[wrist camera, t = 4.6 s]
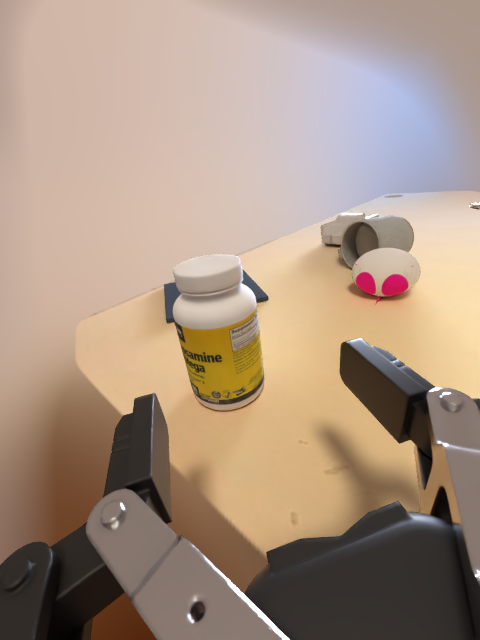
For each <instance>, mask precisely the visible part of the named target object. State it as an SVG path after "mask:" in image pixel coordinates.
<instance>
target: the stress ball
mask: <svg viewBox="0 0 480 640" xmlns="http://www.w3.org/2000/svg"><path fill="white" fill-rule="evenodd" d="M419 276H420V266H419V263H418V261H417V260H416V259H415V258H414V257H413V256H412V255H411V254H409V253H408V252H406V251H403V250H400V249H396V248H379V249H375V250H372V251H369V252H367V253H365V254H364V255H362V256H361V257H360V258H359V259H358V260H357V261H356V262H355V263H354V266H353V269H352V278H353V280H354V282H355V284H356V285H357V286H358V287H359V288H360V289H361V290H363V291H364V292H366V293H369V294H371V295H375V296H379V297H378V299H377V301H376V303H377V302H378V300H379V299H380V297H381V296H394V295H398V294H401V293H403V292H405V291H407V290H409V289H410V288H412V287H413V286H414V285H415V284H416V282H417V281H418V279H419Z"/></svg>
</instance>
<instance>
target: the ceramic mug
mask: <svg viewBox="0 0 480 640" xmlns="http://www.w3.org/2000/svg"><path fill="white" fill-rule="evenodd" d="M413 241H414V233H413V229H412V227H411V225H410V223H409V222H408V221H407V220H405V219H404V218H402V217H399V216H381V217H374V218H366V219H359V220H356V221H354V222H352V223H351V224H349V225H348V227H347V228H346V229H345V231H344V233H343V235H342V238H341V248H340V249H339V250H338V253H339V257H340V259H341V258H344V261H345V262H346V264H347V265H348V266H349V267H351V268H352V269H353V266H354V263H355V262H356V261H357V260H358V259H359V258H360V257H361V256H362V255H364V254H365V253H367V252H369V251H372V250H375V249H379V248H396V249H400V250H403V251H406V252H409V251H410V249H411V247H412V245H413Z"/></svg>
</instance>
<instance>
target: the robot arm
mask: <svg viewBox="0 0 480 640" xmlns="http://www.w3.org/2000/svg"><path fill="white" fill-rule="evenodd" d="M340 375H341V378H342V381H343V382H344V384H345V385H346V386H347V387H348V388H349V389H350V390H351V392H352V393H353V394H354V395H355V396H356V397H357V398H358V399H359V400H360V401H361V402H362V404H363V405H364V406H365V407H366V408H367V409H368V410H369V411H370V412H371V413H372V414H373V416H374V417H375V418H376V419H377V420H378V421H379V422H380V423H381V424H382V425H383V426H384V428H385V429H386V430H387V431H388V432H389V433H390V434H391V435H392V436H393V437H394V438H395V440H396V441H397V442H398V443H399V444H400V443H403V442H405V441H408V440H412V441H413V442H414V443H415V447H414V454H415V462H416V470H417V478H418V485H419V493H420V509H419V512H407V511H406V510H405V509H404V507H403V506H402V505H401V503H400V502H399V501H397V502H394V503H392V504H389V505H386V506H384V507H381V508H379V509H376V510H374V511H371V512H368V513H367V514H366V515H365V516H364V517H362V518H361V519H360V520H359V521H358V522H357V523H356V524H354V525H353V526H352V527H351V528H350V529H349V530H347V531H346V532H345V533H344V534H343V535H341V536H337V537H320V538H303V539H299V540H296V541H294V542H291V543H288V544H286V545H283V546H281V547H278V548H276V549H273V550H270V551H268V552H266V553H267V558H268V565H267V566H266V567H264V568H263V569H262V570H261V571H260V572H259V573H258V574H257V575H256V577H255V578H254V579H253V581H252V582H251V583H250V585H249V586H248V588H247V590H246V592H245V594H243V593H242V592H241V591H240V590H239V589H238V588H237V587H236V586H235V585H234V584H233V583H232V582H231V581H229V579H228V578H226V576H225V575H223V574H222V573H221V572H220V571H219V570H218V569H217V568H216V567H215V566H214V565H213V564H212V563H211V562H210V561H209V560H208V559H207V558H206V557H205V556H204V555H203V554H202V553H201V552H200V551H199V550H198V549H197V548H196V547H195V546H194V545H193V544H192V543H191V542H190V541H189V540H188V539H187V538H185V537H184V536H182V535H181V536H178V535H177V534H175V533H174V532H173V531H172V530H171V529H170V528H169V527H168V526H167V525H166V524H167V523H170V522H172V519H171V518H172V517H171V490H170V463H169V436H168V429H167V424H166V421H165V418H164V415H163V412H162V409H161V407H160V404H159V401H158V398H157V396H156V394H155V393H153V394H149V395H145V396H142V397H138V398H135V400H134V408H133V413H131V414H127V415H124V416H123V417H122V418H121V420H120V422H119V423H118V425H117V427H116V429H115V434H114V440H113V441H114V443H113V446H112V453H111V457H110V462H109V468H108V474H107V480H106V485H105V491H104V495H103V499H102V500H100V501H99V502H98V503H97V505H96V506H95V507H94V509H93V510H92V512H91V513H90V515H89V518H88V521H87V522H86V523H85V524H84V525H83V526H81V527H80V528H79V529H77V530H76V531H74V532H73V533H71V534H70V535H68V536H66V537H65V538H64V539H62V540H60V541H59V542H57V543H56V544H54V545H53V546H51V547H49V546H48V545H47V544H46V543H43V542H33V543H30V544H27V545H25V546H23V547H21V548H20V549H18V550H17V551H15V552H14V553H13V554H12V555H10V556H9V557H8V558H7V559H6V560H5V561H4V562H3V563H2V564H1V565H0V640H90V638H91V629H92V619H93V617H94V616H96V615H97V614H98V613H99V612H100V611H102V610H103V609H104V608H106V607H107V606H108V605H109V604H111V603H112V602H113V601H114V600H115V599H117V598H118V597H119V596H120V595H122V594H123V593H124V592H126V594H127V595H128V597H129V598H130V600H131V602H132V604H133V605H134V606H135V608H136V610H137V611H138V612H139V614H140V615H141V617H142V618H143V620H144V621H145V623H146V624H147V626H148V627H149V628H150V630H151V631H152V633H153V634H154V636H155V637H156V639H157V640H480V399H471V398H470V397H469V396H467V395H466V394H464V393H462V392H460V391H457V390H454V389H450V388H436V387H435V386H433V385H432V384H431V383H429V382H428V381H427V380H425V379H424V378H422V377H421V376H420V375H418V374H417V373H416V372H414V371H413V370H412V369H410V368H409V367H408V366H405V364H404V363H402V362H401V361H400V360H397V358H396V357H394V356H393V355H392V354H390V353H389V352H388V351H385V350H383V349H380V348H378V347H375V346H373V347H372V346H370V345H369V344H368V343H367V342H365V341H364V340H363V339H361V338H357V339H354V340H350V341H346V342H343V343H342V344H341V353H340Z"/></svg>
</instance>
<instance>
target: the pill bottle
mask: <svg viewBox="0 0 480 640" xmlns="http://www.w3.org/2000/svg"><path fill="white" fill-rule="evenodd" d="M173 274H174V277H175V282H176V287H177V288H178V291H179V292H180V293H182V294H181V295H180V296H179V297H178V298H177V299H176V301H175V303H174V306H173V317H174V322H175V325H176V329H177V333H178V336H179V341H180V344H181V348H182V352H183V356H184V359H185V363H186V367H187V370H188V374H189V378H190V382H191V386H192V389H193V392H194V394H195V396H196V398H197V399H198V401H199V402H200V403H202V404H203V405H204V406H206V407H208V408H211V409H214V410H221V411H223V410H233V409H237V408H240V407H242V406H245V405H247V404H248V403H250V402H251V401H253V400H254V399H255V398H256V397H257V396H258V395H259V394H260V392H261V390H262V388H263V385H264V370H263V359H262V350H261V340H260V330H259V321H258V311H257V302H256V298H255V295H254V293H253V292H252V290H251V289H250V288H248V287H247V286H246V285H244V284H242V281H243V270H242V264H241V260H240V258H239V257H237V256H234V255H229V254H213V255H204V256H199V257H195V258H191V259H188V260H186V261H183V262H181V263H179V264H178V265H177V266H175V268H174V270H173Z"/></svg>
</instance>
